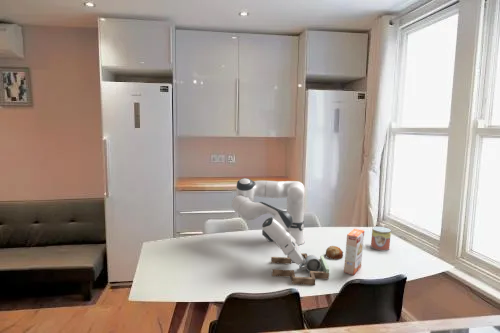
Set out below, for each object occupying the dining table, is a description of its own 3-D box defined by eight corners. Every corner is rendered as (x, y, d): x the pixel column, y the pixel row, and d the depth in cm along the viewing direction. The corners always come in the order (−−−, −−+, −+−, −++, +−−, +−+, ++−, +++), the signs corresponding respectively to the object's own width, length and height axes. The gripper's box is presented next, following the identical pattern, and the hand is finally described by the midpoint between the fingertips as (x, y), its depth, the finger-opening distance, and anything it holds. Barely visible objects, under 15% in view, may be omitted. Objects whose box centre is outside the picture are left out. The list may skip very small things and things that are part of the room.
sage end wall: (325, 278, 178) (326, 269, 178) (319, 264, 196) (320, 255, 196) (328, 278, 178) (329, 269, 178) (322, 264, 196) (323, 255, 195)
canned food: (370, 248, 224) (371, 230, 222) (371, 243, 234) (372, 225, 233) (389, 251, 220) (391, 233, 218) (389, 246, 230) (391, 228, 229)
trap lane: (272, 282, 172) (272, 276, 171) (270, 256, 204) (271, 251, 204) (331, 285, 171) (332, 279, 170) (320, 259, 204) (320, 254, 203)
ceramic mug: (317, 267, 192) (318, 253, 191) (320, 273, 184) (321, 259, 183) (297, 266, 192) (299, 252, 191) (300, 272, 184) (301, 258, 183)
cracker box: (354, 275, 183) (357, 236, 180) (343, 272, 186) (346, 234, 184) (361, 266, 195) (365, 230, 192) (351, 264, 198) (353, 227, 195)
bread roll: (325, 258, 214) (320, 247, 213) (341, 251, 214) (336, 240, 213) (330, 265, 204) (325, 253, 203) (347, 258, 205) (342, 246, 203)
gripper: (281, 240, 196) (298, 258, 197) (283, 254, 176) (302, 274, 177) (290, 233, 196) (307, 251, 197) (293, 246, 175) (312, 266, 176)
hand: (305, 262), depth 187 cm, fingers closed, pressing on ceramic mug
